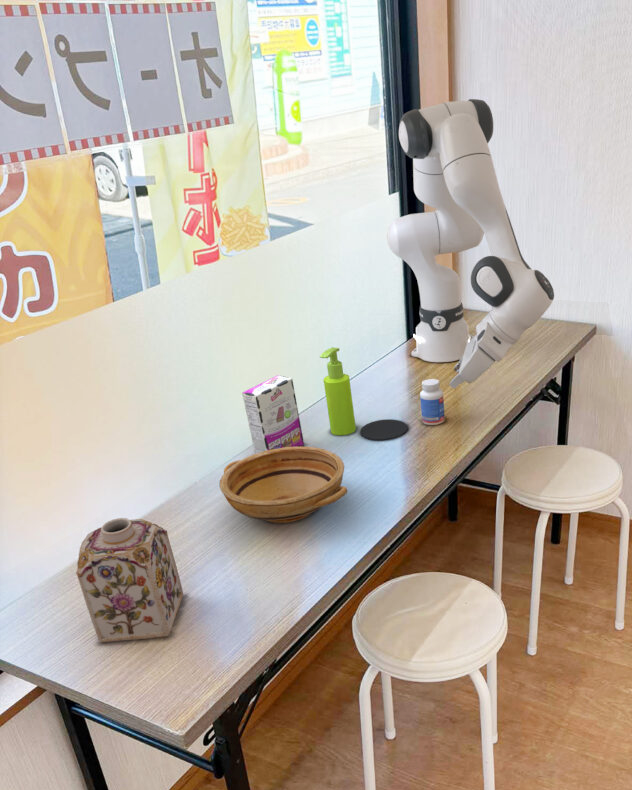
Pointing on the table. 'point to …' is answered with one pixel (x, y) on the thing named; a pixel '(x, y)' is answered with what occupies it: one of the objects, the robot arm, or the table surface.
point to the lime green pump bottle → (338, 396)
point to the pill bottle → (432, 402)
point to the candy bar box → (273, 415)
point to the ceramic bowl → (283, 483)
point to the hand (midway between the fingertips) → (454, 378)
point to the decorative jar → (129, 580)
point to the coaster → (383, 430)
